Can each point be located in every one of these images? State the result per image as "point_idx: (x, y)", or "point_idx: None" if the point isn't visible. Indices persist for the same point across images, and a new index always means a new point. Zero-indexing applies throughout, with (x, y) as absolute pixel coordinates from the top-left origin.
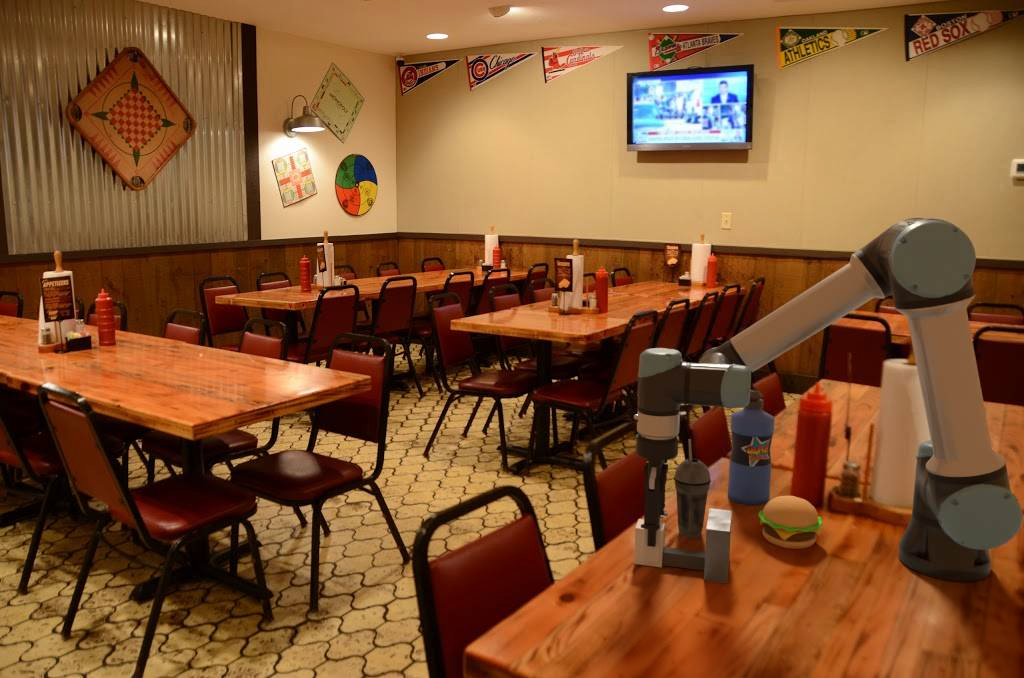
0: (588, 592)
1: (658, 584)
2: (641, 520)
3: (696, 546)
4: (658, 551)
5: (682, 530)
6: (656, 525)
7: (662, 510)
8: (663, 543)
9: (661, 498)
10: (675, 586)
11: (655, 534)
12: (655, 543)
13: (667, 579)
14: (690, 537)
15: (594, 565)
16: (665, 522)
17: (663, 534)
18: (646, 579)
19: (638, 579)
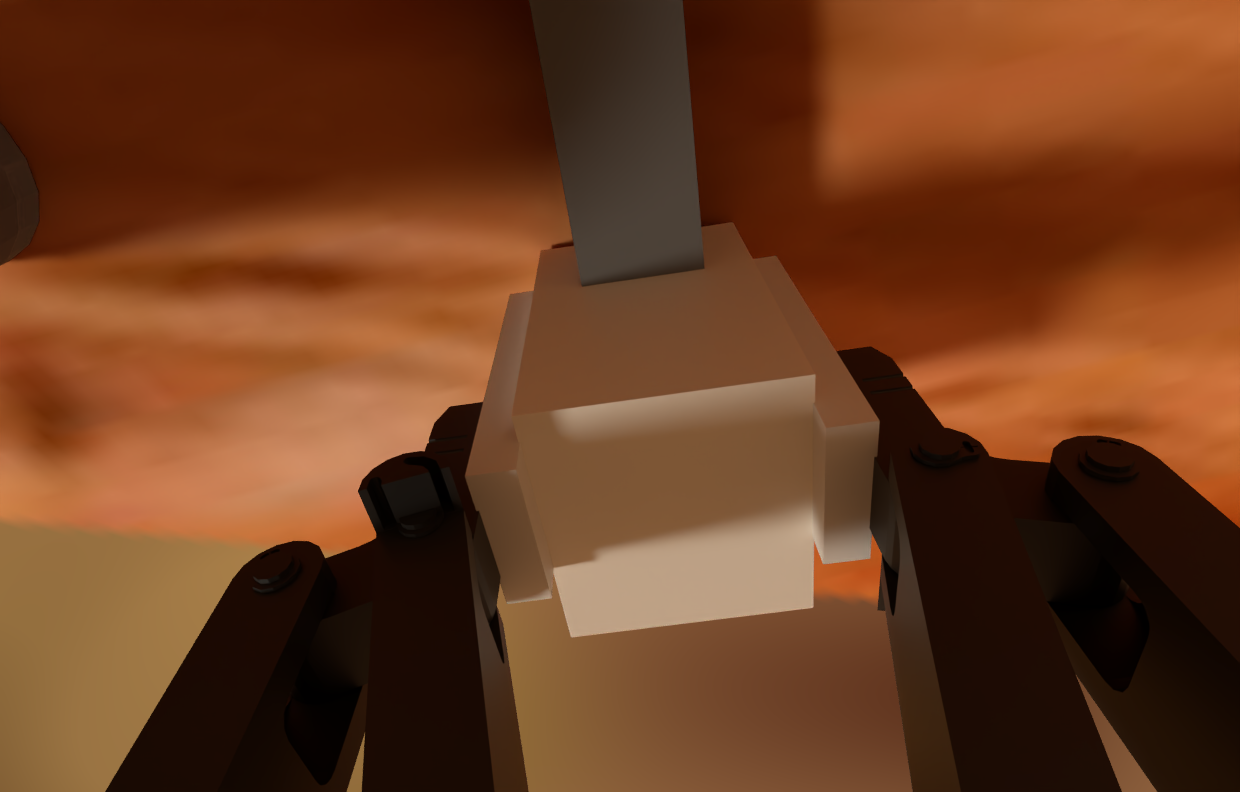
0: None
1: (1012, 169)
2: (601, 611)
3: (139, 40)
4: (798, 300)
5: (1, 238)
6: (1180, 495)
7: (471, 550)
8: (664, 302)
9: (493, 741)
10: (1029, 25)
11: (937, 420)
12: (856, 363)
13: (912, 125)
14: (8, 143)
15: (823, 569)
16: (524, 413)
17: (718, 349)
18: (944, 270)
19: (955, 317)
